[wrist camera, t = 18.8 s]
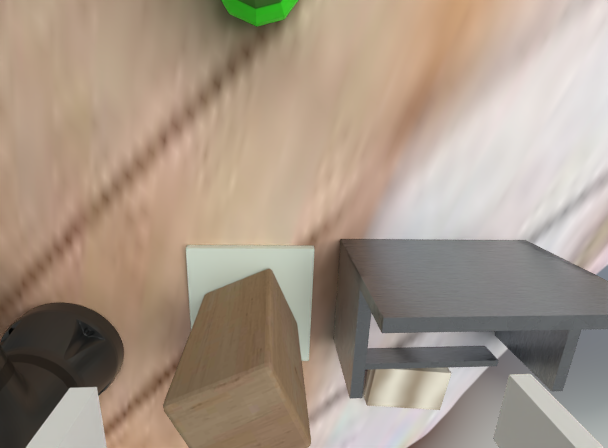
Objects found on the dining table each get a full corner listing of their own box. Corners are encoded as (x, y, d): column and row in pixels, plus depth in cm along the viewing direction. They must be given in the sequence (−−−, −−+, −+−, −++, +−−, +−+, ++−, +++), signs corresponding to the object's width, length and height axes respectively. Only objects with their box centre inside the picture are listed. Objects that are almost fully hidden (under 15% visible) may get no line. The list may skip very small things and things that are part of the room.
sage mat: (194, 358, 53) (193, 363, 52) (187, 244, 48) (185, 248, 46) (308, 355, 54) (308, 360, 53) (313, 245, 49) (314, 248, 48)
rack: (332, 354, 55) (364, 482, 36) (340, 239, 49) (383, 317, 30) (499, 350, 57) (613, 468, 38) (526, 240, 52) (673, 313, 33)
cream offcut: (364, 396, 56) (366, 405, 55) (373, 359, 54) (376, 367, 53) (434, 401, 58) (439, 409, 56) (446, 365, 56) (451, 373, 54)
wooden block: (298, 324, 51) (313, 448, 32) (234, 349, 52) (212, 486, 33) (270, 265, 48) (269, 365, 29) (203, 293, 48) (159, 408, 29)
